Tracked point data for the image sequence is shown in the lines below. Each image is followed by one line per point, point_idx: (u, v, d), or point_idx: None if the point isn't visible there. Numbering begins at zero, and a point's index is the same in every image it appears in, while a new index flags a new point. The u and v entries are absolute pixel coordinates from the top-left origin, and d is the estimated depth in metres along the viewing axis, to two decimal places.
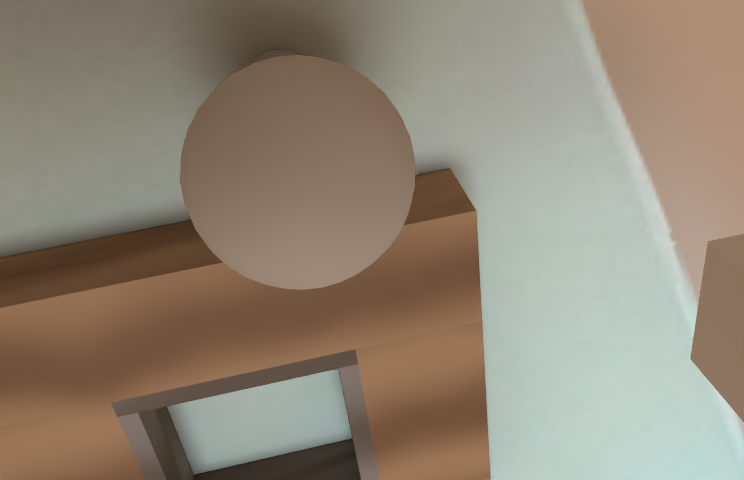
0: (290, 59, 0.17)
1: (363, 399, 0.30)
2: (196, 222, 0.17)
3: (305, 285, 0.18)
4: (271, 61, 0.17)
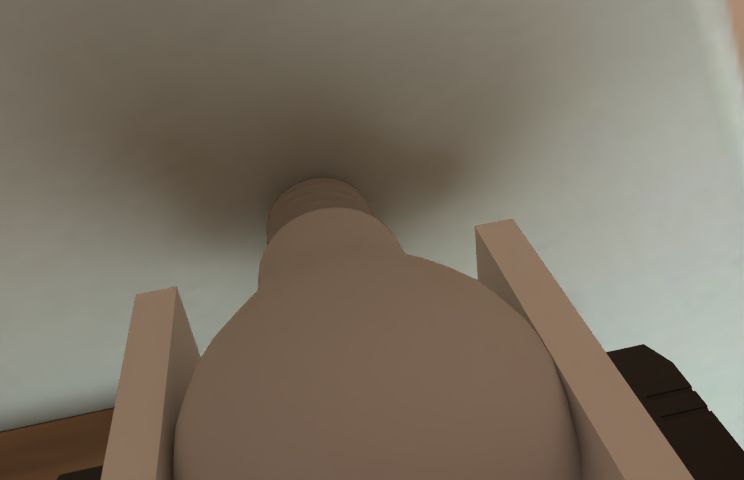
0: (371, 282, 0.10)
1: None
2: None
3: None
4: (336, 286, 0.10)
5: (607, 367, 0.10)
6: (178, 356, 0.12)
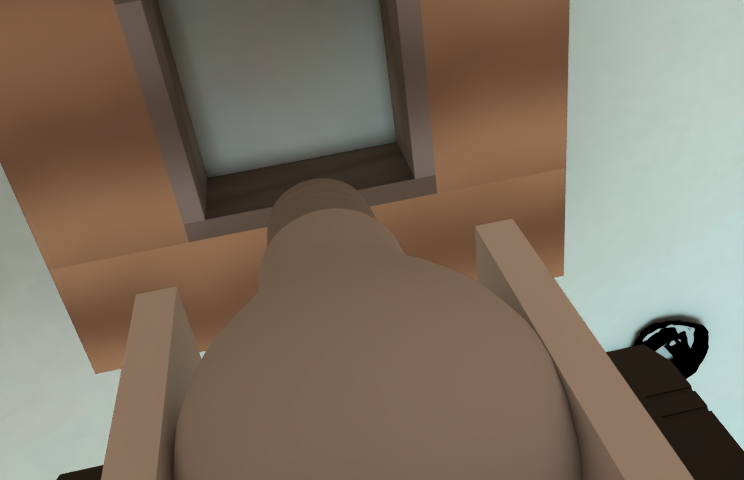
0: (371, 283, 0.10)
1: (420, 16, 0.24)
2: None
3: None
4: (337, 287, 0.10)
5: (607, 367, 0.10)
6: (178, 356, 0.12)
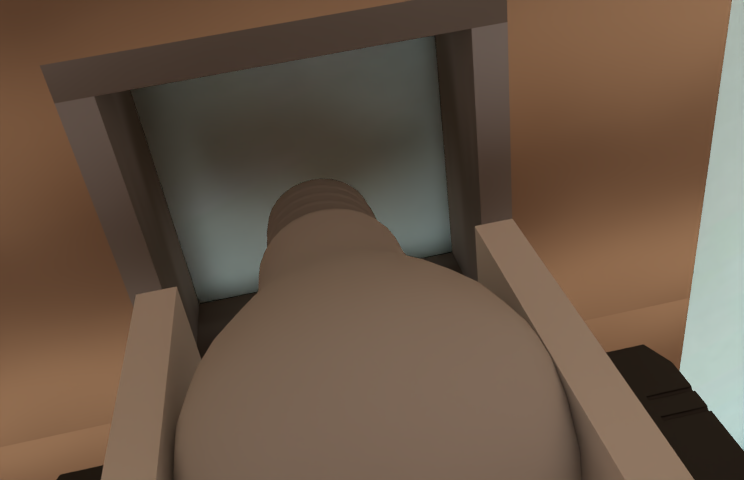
0: (371, 284, 0.10)
1: (507, 108, 0.16)
2: None
3: None
4: (337, 288, 0.10)
5: (607, 367, 0.10)
6: (178, 356, 0.12)
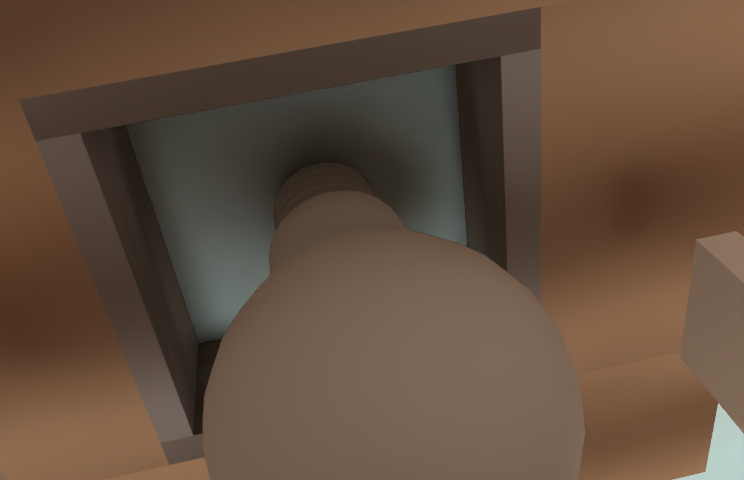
0: (389, 257, 0.10)
1: (538, 142, 0.15)
2: None
3: None
4: (357, 261, 0.10)
5: None
6: None
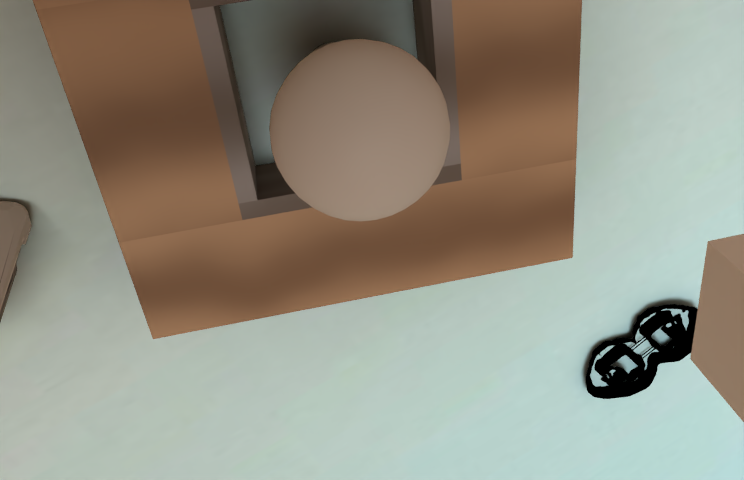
0: (357, 40, 0.23)
1: (451, 22, 0.27)
2: (284, 163, 0.23)
3: (365, 213, 0.23)
4: (343, 42, 0.23)
5: None
6: None
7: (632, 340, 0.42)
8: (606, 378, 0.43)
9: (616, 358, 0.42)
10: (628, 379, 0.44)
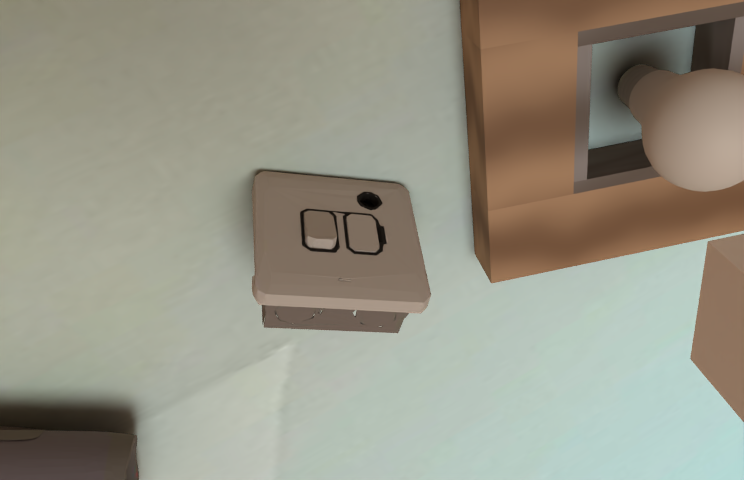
0: (718, 70, 0.34)
1: (743, 51, 0.39)
2: (669, 153, 0.34)
3: (720, 186, 0.35)
4: (709, 71, 0.34)
5: None
6: None
7: None
8: None
9: None
10: None
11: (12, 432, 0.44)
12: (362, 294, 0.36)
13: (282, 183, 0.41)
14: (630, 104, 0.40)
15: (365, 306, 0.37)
